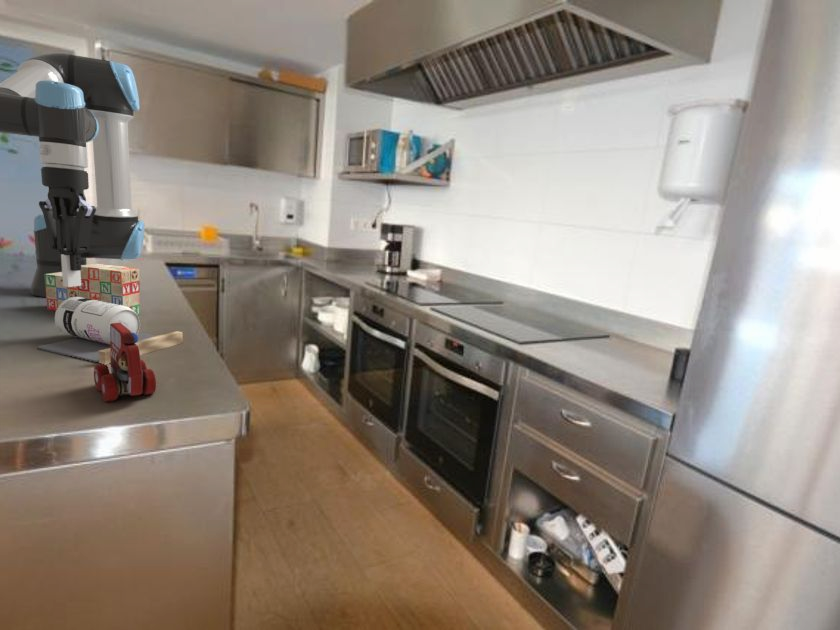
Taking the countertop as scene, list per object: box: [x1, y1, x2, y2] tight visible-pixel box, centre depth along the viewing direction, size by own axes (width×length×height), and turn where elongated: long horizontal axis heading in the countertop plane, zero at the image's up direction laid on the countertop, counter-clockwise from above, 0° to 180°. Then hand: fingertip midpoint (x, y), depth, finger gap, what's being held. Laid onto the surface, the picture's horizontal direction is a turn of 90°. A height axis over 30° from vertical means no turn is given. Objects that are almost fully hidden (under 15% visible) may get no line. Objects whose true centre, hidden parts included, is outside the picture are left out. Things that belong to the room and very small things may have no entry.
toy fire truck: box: [93, 323, 157, 403], centre depth 77 cm, size 7×12×10 cm, turn 43°
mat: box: [36, 331, 157, 363], centre depth 100 cm, size 18×16×1 cm
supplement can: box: [54, 297, 141, 345], centre depth 100 cm, size 8×8×15 cm
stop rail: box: [98, 330, 184, 365], centre depth 97 cm, size 18×2×2 cm, turn 161°
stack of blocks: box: [44, 263, 141, 316], centre depth 122 cm, size 21×6×12 cm, turn 82°
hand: (72, 285), depth 100 cm, fingers closed
